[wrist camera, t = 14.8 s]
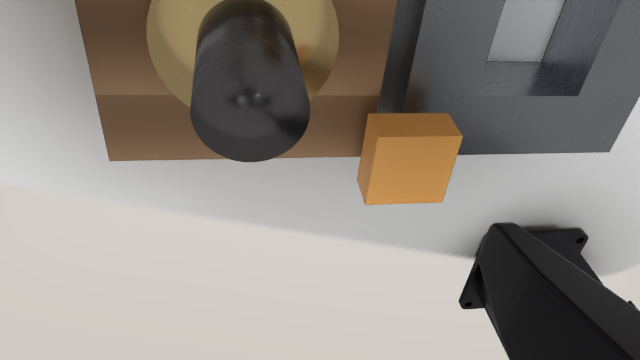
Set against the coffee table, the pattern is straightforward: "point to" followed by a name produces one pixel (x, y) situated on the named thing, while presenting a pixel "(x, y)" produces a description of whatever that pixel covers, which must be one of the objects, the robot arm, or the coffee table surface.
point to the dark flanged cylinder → (244, 68)
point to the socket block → (516, 75)
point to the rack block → (174, 116)
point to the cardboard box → (407, 157)
